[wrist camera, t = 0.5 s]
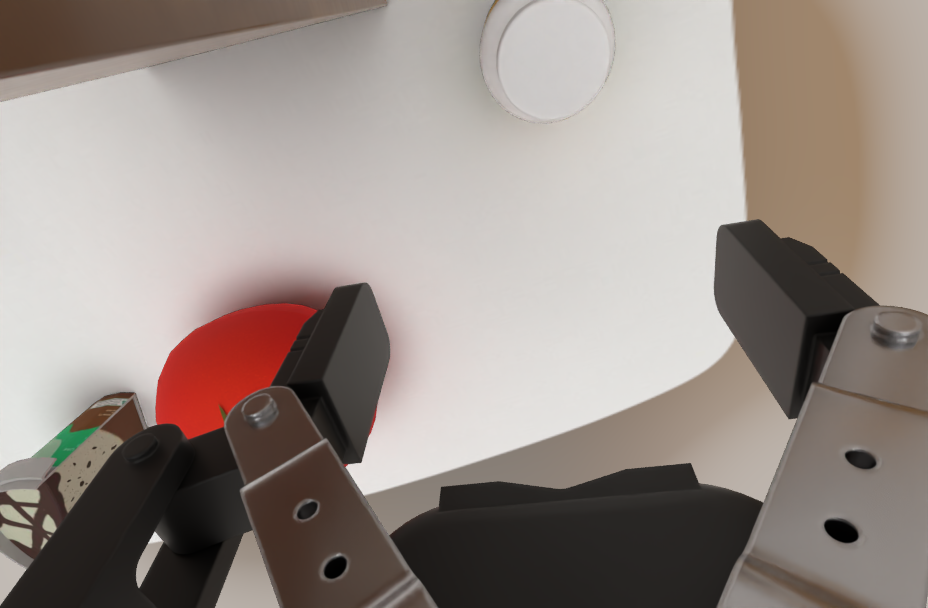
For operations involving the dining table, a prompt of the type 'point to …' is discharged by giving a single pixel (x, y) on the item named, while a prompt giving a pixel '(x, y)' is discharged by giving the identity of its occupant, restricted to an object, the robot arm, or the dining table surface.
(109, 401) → the food container
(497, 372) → the dining table surface
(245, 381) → the tomato
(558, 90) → the supplement bottle
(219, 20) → the stand
